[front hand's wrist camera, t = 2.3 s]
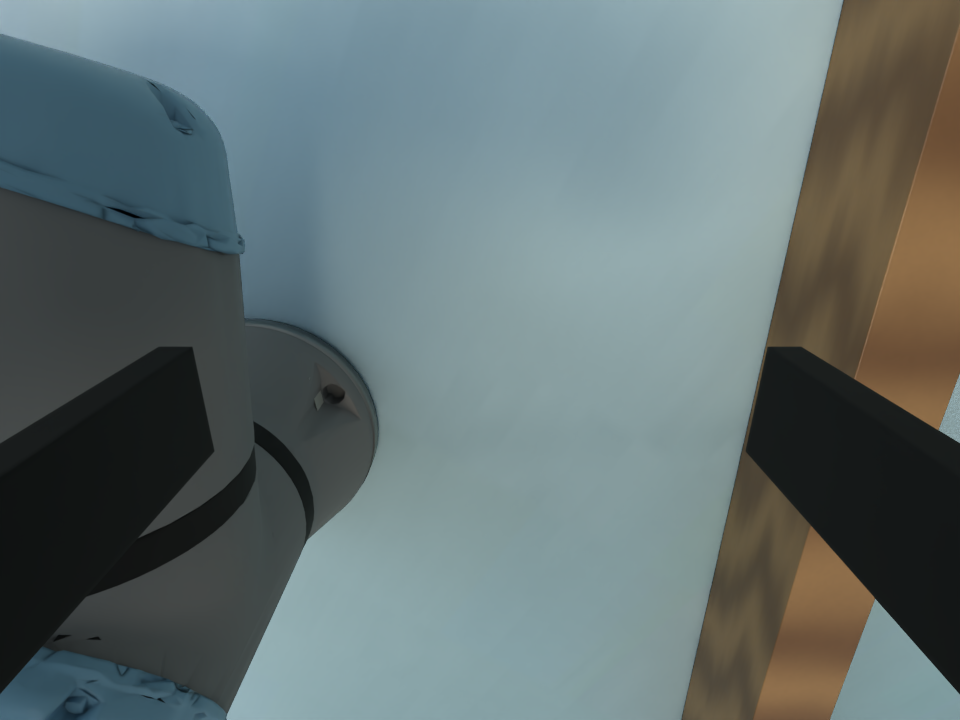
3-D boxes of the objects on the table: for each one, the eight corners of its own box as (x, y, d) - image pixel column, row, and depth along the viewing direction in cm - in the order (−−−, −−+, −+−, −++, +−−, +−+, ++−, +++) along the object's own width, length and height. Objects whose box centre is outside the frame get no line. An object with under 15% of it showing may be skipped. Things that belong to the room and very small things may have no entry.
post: (720, 780, 50) (763, 897, 42) (667, 779, 50) (700, 895, 42) (1045, -367, 22) (1343, -645, 15) (926, -368, 22) (1159, -645, 15)
